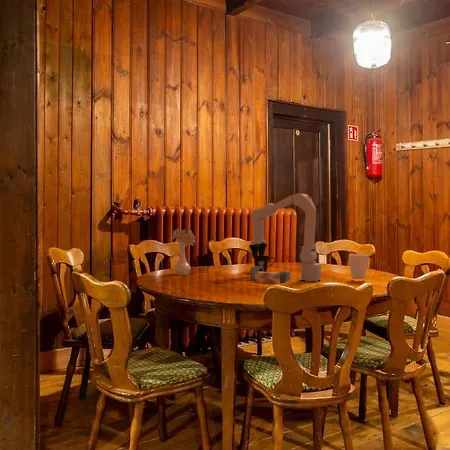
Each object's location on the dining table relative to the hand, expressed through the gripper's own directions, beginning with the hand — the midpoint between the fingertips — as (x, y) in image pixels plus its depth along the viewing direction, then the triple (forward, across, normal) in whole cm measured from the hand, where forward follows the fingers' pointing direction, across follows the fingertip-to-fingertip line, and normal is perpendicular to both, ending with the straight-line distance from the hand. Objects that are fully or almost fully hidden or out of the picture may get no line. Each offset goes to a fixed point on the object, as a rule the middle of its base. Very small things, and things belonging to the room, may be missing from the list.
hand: (258, 257), depth 254 cm
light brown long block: (+10, +16, +12) cm, 23 cm away
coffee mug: (+10, -16, -4) cm, 19 cm away
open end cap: (+10, +10, +18) cm, 22 cm away
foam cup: (+10, -12, +50) cm, 52 cm away
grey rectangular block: (+10, +10, +4) cm, 14 cm away
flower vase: (+10, +13, -39) cm, 42 cm away
